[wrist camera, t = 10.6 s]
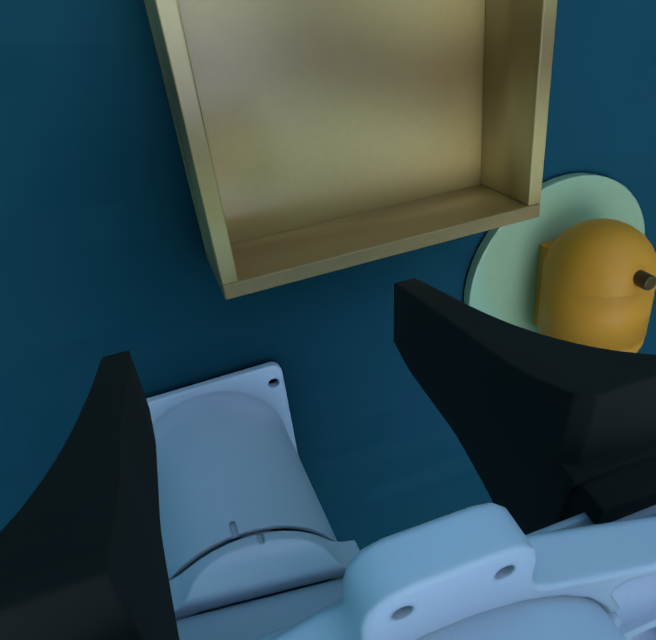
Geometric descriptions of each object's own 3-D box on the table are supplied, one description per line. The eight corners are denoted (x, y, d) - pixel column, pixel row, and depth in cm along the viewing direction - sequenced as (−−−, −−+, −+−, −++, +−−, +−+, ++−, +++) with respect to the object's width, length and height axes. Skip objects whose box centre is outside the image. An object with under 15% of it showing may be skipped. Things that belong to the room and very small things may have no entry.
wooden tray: (484, 190, 27) (540, 217, 23) (207, 259, 24) (225, 300, 20) (495, -157, 20) (574, -188, 17) (112, -126, 17) (117, -157, 14)
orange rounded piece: (589, 329, 33) (669, 381, 28) (514, 353, 32) (585, 412, 27) (609, 195, 29) (706, 231, 24) (524, 218, 28) (609, 260, 23)
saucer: (620, 332, 35) (627, 337, 34) (461, 385, 32) (467, 391, 32) (653, 152, 29) (662, 154, 29) (464, 199, 27) (471, 202, 26)
